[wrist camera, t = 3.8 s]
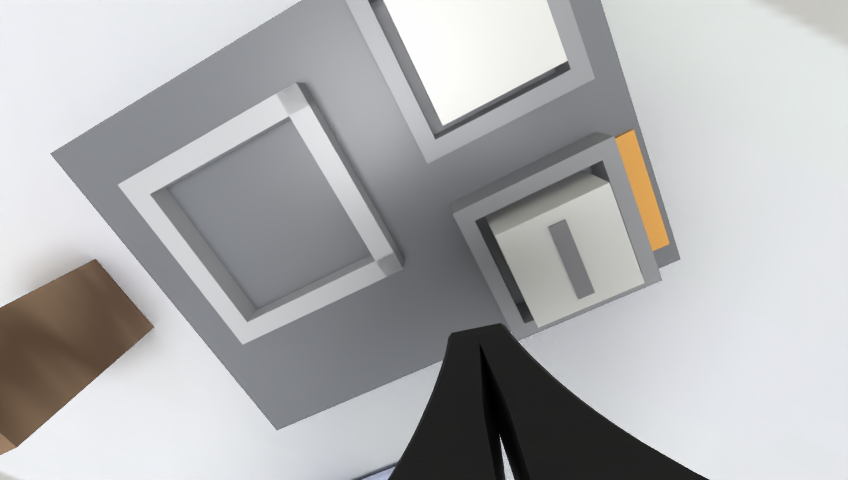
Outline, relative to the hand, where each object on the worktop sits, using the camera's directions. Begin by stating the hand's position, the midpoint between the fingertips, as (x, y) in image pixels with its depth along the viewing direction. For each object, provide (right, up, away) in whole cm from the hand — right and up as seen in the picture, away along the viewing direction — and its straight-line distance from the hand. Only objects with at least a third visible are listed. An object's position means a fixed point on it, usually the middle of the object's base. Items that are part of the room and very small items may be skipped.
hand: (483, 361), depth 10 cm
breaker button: (+4, +3, +6) cm, 8 cm away
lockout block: (-17, 0, +9) cm, 20 cm away
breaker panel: (-3, +5, +7) cm, 9 cm away
